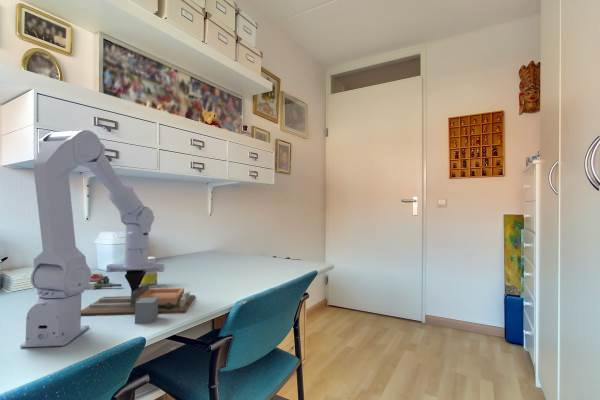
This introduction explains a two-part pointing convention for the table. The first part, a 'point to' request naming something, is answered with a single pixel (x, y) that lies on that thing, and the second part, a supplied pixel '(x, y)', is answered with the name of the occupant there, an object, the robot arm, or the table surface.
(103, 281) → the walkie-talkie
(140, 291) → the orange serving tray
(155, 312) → the block
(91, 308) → the track
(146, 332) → the table surface
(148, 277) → the supplement bottle
